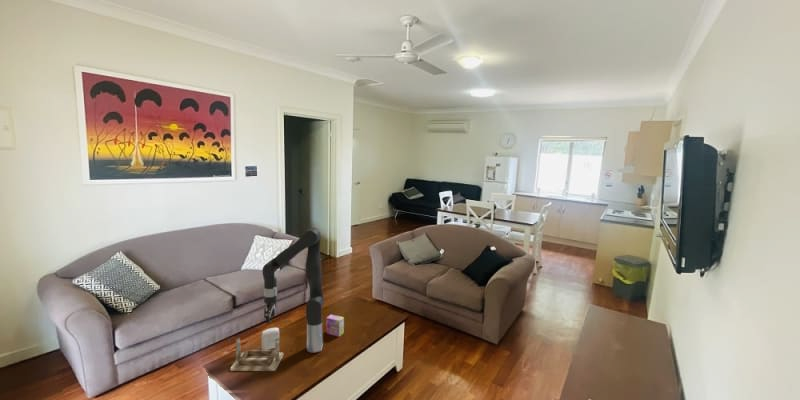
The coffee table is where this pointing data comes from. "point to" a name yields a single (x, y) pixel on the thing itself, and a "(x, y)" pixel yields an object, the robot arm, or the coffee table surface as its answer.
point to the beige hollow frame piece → (256, 359)
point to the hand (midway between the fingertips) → (270, 319)
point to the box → (335, 325)
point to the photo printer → (269, 338)
